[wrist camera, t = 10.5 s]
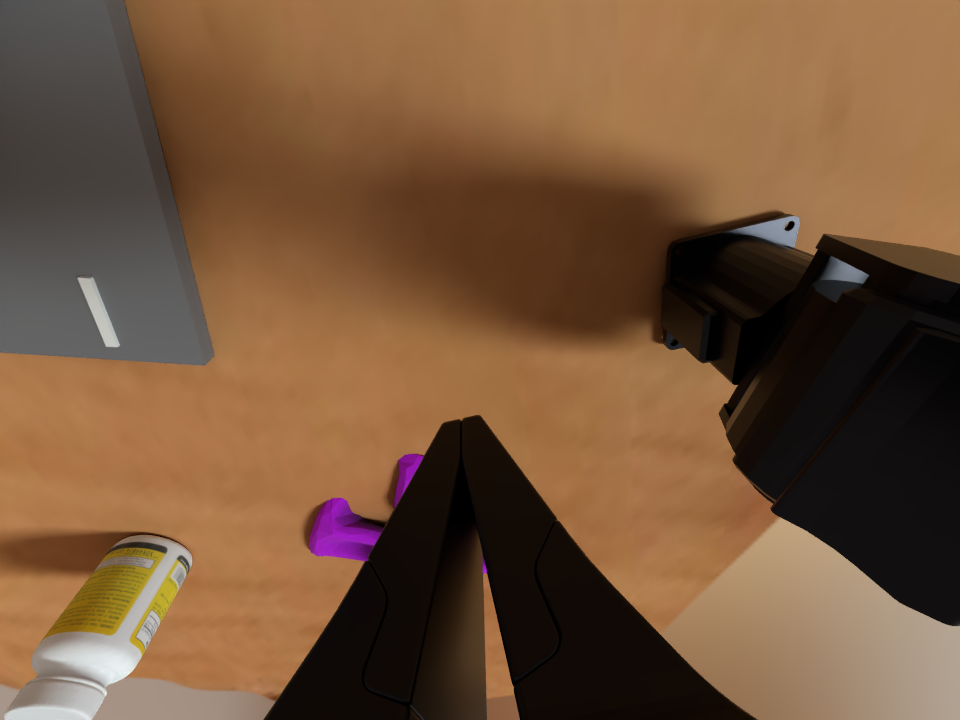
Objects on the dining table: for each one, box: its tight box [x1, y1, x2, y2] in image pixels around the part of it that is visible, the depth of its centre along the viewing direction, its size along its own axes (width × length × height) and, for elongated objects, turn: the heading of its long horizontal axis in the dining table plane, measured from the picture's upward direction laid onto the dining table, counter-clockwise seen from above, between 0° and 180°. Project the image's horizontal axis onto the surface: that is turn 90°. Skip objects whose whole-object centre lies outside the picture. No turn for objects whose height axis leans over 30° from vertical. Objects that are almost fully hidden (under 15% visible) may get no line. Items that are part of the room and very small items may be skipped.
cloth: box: [309, 454, 487, 574], centre depth 30 cm, size 22×19×6 cm
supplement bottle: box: [4, 535, 192, 720], centre depth 26 cm, size 5×5×10 cm
